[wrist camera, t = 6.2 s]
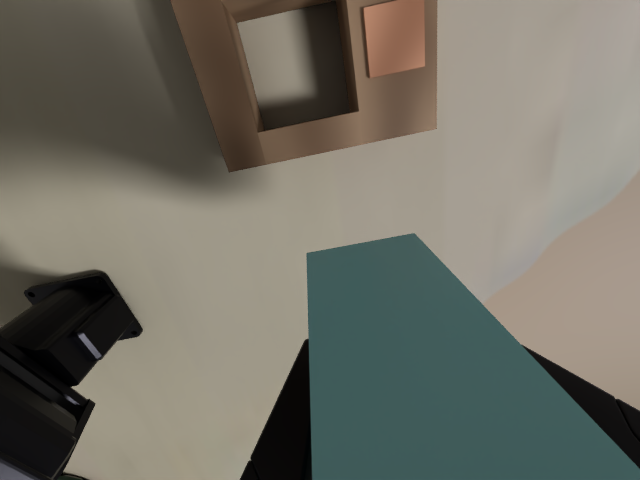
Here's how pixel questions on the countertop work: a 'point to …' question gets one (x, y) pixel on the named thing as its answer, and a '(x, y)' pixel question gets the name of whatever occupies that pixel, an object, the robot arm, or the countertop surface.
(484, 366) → the plug
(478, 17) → the countertop surface
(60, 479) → the coffee jar
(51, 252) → the countertop surface
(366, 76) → the socket plate
